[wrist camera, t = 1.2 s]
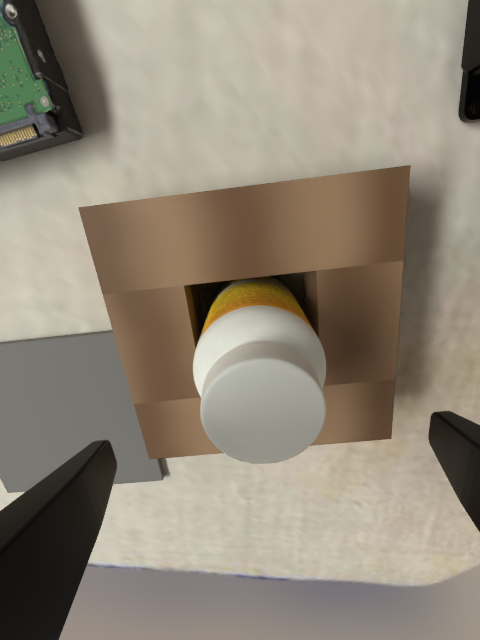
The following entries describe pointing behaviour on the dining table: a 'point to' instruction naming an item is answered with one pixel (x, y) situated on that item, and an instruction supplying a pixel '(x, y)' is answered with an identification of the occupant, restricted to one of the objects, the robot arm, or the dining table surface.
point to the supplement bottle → (259, 373)
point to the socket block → (249, 262)
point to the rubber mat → (67, 408)
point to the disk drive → (31, 85)
